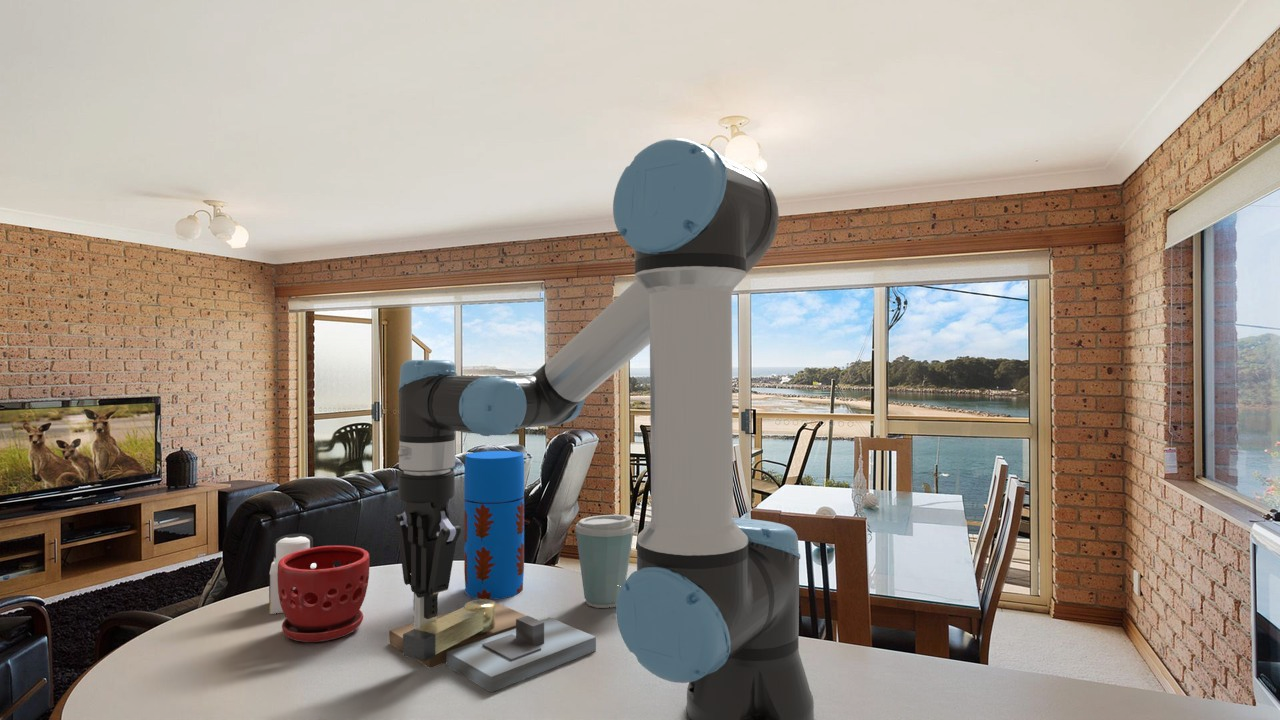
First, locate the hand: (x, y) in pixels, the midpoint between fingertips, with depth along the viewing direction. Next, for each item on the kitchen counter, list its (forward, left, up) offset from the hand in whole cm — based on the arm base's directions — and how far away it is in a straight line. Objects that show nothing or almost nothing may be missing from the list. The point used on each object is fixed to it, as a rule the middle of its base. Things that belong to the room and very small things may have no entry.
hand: (425, 638), depth 97 cm
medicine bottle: (+38, +4, -4) cm, 38 cm away
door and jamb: (-2, -10, -4) cm, 10 cm away
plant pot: (+22, +5, -4) cm, 23 cm away
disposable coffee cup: (+1, -35, -4) cm, 35 cm away
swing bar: (-2, -4, -1) cm, 4 cm away
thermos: (+20, -25, -4) cm, 32 cm away
